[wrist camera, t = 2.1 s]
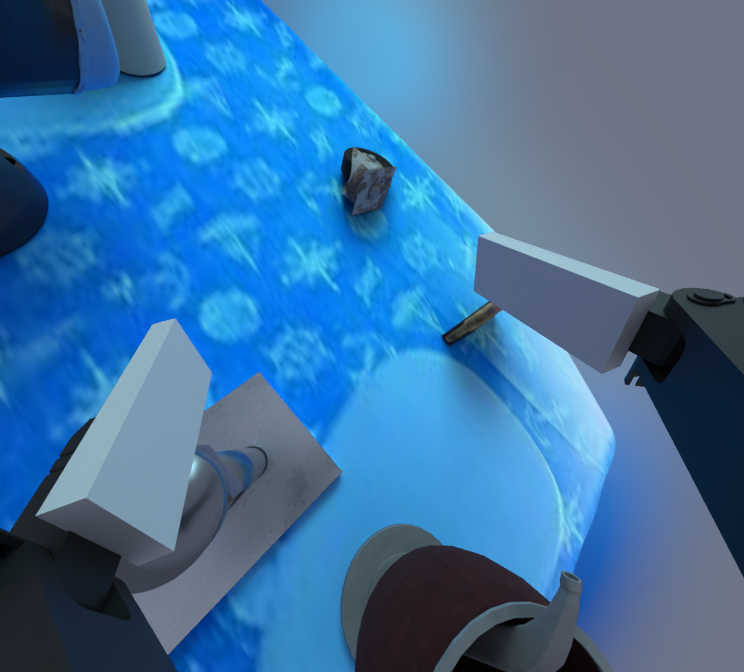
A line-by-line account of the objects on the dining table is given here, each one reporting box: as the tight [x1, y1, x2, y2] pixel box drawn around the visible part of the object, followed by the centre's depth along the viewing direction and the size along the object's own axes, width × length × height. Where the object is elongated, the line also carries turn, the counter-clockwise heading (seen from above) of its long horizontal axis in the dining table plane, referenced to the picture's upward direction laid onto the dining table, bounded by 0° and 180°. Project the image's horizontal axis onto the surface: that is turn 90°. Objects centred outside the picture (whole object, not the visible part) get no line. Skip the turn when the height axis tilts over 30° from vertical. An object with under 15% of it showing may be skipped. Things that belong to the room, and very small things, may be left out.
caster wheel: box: [341, 147, 396, 215], centre depth 43 cm, size 7×11×10 cm
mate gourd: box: [341, 524, 613, 672], centre depth 19 cm, size 16×14×20 cm
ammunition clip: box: [442, 301, 503, 346], centre depth 36 cm, size 11×2×12 cm, turn 127°
